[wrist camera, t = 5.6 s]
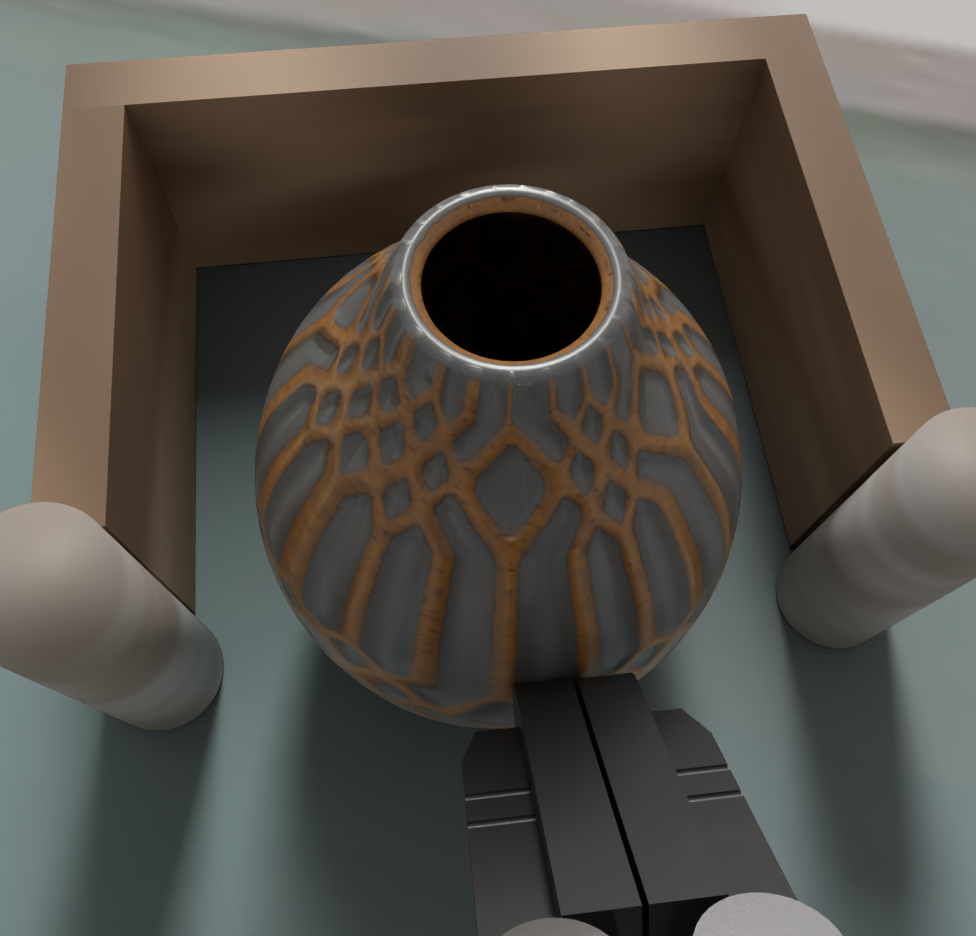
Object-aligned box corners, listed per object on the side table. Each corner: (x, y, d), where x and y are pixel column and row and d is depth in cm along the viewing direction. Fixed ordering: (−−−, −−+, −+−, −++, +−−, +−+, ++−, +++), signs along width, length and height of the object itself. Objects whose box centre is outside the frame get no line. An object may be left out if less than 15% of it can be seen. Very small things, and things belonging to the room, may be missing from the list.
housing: (104, 737, 16) (-68, 673, 10) (125, 235, 20) (9, 16, 15) (899, 641, 17) (1089, 540, 12) (759, 182, 21) (854, -39, 16)
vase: (756, 591, 17) (1018, 330, 9) (457, 844, 15) (445, 805, 7) (518, 336, 19) (554, -62, 11) (230, 530, 17) (20, 224, 9)
